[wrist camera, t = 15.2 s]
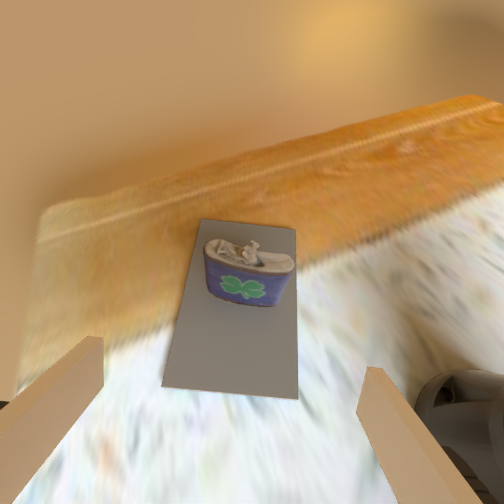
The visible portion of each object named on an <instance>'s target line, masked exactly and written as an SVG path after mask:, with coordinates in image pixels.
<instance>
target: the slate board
mask: <svg viewBox="0 0 504 504" xmlns="http://www.w3.org/2000/svg"><path fill="white" fill-rule="evenodd" d="M216 238H218V239H223V240H226V241H227V242H230V243H232V244H234V245H237V246H240V247H246V245H249V246H253V243H251V242H250V241H251V240H254V241H255V242H256V243H258V244H259V247H258V248H256V250H259V251H264V252H275V253H285V254H288V255H290V256H291V257H292V259H293V260H294V262H295V268H294V271H293V273H292V275H291V277H290V279H289V281H288V283H287V285H286V288H285V290H284V292H283V294H282V297H281V299H280V302H279V303H278V304H276V305H275V306H273V307H258V306H250V305H243V304H240V305H239V304H236V303H231V302H228V301H224V300H222V299H219V298H216V297H215V296H213V295H211V294H210V293H209V292H208V288H207V283H206V271H205V263H204V255H203V247H204V245H205V242H207V241H209V240H213V239H216ZM161 387H163V388H170V389H181V390H191V391H202V392H213V393H223V394H234V395H244V396H255V397H266V398H276V399H287V400H298V347H297V289H296V230H295V229H287V228H279V227H270V226H261V225H253V224H244V223H235V222H227V221H218V220H209V219H201V222H200V226H199V230H198V234H197V238H196V243H195V247H194V251H193V255H192V259H191V264H190V268H189V272H188V276H187V280H186V285H185V289H184V293H183V297H182V301H181V306H180V310H179V314H178V318H177V322H176V327H175V331H174V335H173V339H172V343H171V348H170V352H169V356H168V360H167V364H166V369H165V373H164V377H163V381H162V385H161Z"/></svg>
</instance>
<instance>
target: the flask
mask: <svg viewBox="0 0 504 504" xmlns="http://www.w3.org/2000/svg"><path fill="white" fill-rule="evenodd" d="M250 242H251V243H253V246H249V245H246V247H240V246H237V245H234V244H232V243H230V242H227V241H226V240H223V239H218V238H216V239H213V240H209V241H207V242H205V245H204V247H203V255H204V263H205V271H206V283H207V288H208V292H209V293H210V294H211V295H213V296H215V297H216V298H219V299H222V300H224V301H228V302H231V303H236V304H239V305H240V304H243V305H250V306H258V307H273V306H275V305H276V304H278V303H279V302H280V299H281V297H282V294H283V292H284V290H285V288H286V285H287V283H288V281H289V279H290V277H291V275H292V273H293V271H294V268H295V262H294V260H293V259H292V257H291V256H290V255H288V254H285V253H275V252H264V251H259V250H256V248H258V247H259V244H258V243H256V242H255V241H254V240H251V241H250Z"/></svg>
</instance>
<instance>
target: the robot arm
mask: <svg viewBox="0 0 504 504" xmlns="http://www.w3.org/2000/svg"><path fill="white" fill-rule="evenodd" d="M103 386H104V372H103V338H101V337H92V336H87V337H86V338H85V339H83V340H82V341H81V342H80V343H79V344H78V345H76V346H75V347H74V348H73V349H72V350H71V351H69V352H68V353H67V354H66V355H65V356H64V357H62V358H61V359H60V360H59V361H58V362H56V363H55V364H54V365H53V366H52V367H51V368H49V369H48V370H47V371H46V372H45V373H44V374H42V375H41V376H40V377H39V378H38V379H36V380H35V381H34V382H33V383H32V384H31V385H29V386H28V387H27V388H26V389H25V390H24V391H22V392H21V393H20V394H19V395H18V396H16V397H15V398H14V399H13V400H12V401H11V402H6V401H0V504H12V502H13V501H14V500H15V499H16V497H17V496H18V495H19V493H20V492H21V491H22V490H23V488H24V487H25V486H26V485H27V483H28V482H29V481H30V479H31V478H32V477H33V476H34V474H35V473H36V472H37V470H38V469H39V468H40V467H41V465H42V464H43V463H44V462H45V460H46V459H47V458H48V456H49V455H50V454H51V453H52V451H53V450H54V449H55V448H56V446H57V445H58V444H59V442H60V441H61V440H62V439H63V437H64V436H65V435H66V433H67V432H68V431H69V430H70V428H71V427H72V426H73V425H74V423H75V422H76V421H77V419H78V418H79V417H80V416H81V414H82V413H83V412H84V410H85V409H86V408H87V407H88V405H89V404H90V403H91V402H92V400H93V399H94V398H95V396H96V395H97V394H98V393H99V391H100V390H101V389H102V388H103ZM356 414H357V416H358V418H359V420H360V422H361V425H362V427H363V429H364V431H365V433H366V435H367V437H368V439H369V442H370V444H371V446H372V448H373V450H374V452H375V454H376V456H377V459H378V461H379V463H380V465H381V467H382V469H383V471H384V473H385V475H386V478H387V480H388V482H389V484H390V486H391V488H392V490H393V492H394V495H395V497H396V499H397V501H398V503H399V504H504V375H501V374H496V373H491V372H487V371H482V370H472V369H467V370H458V371H452V372H447V373H443V374H440V375H438V376H436V377H434V378H433V379H432V380H430V381H429V382H428V383H427V384H426V385H425V386H424V388H423V389H422V391H421V393H420V395H419V397H418V400H417V403H416V407H415V412H414V410H413V409H412V408H411V406H410V405H409V403H408V402H407V401H406V399H405V398H404V397H403V395H402V394H401V393H400V391H399V390H398V389H397V387H396V386H395V385H394V383H393V382H392V381H391V379H390V378H389V377H388V375H387V374H386V373H385V371H384V370H383V369H382V368H374V367H367V370H366V374H365V378H364V382H363V387H362V391H361V395H360V399H359V403H358V407H357V411H356Z"/></svg>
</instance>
